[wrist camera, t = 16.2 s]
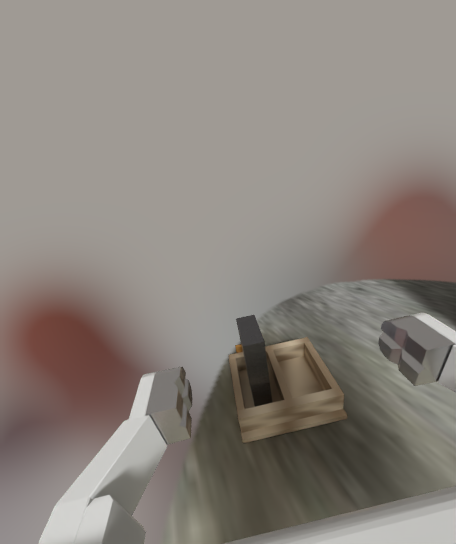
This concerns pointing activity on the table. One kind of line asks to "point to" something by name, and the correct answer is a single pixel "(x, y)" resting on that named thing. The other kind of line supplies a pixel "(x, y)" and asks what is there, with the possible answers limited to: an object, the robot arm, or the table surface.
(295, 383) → the wooden divided box
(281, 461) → the table surface
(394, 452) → the table surface
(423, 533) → the robot arm
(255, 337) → the block
